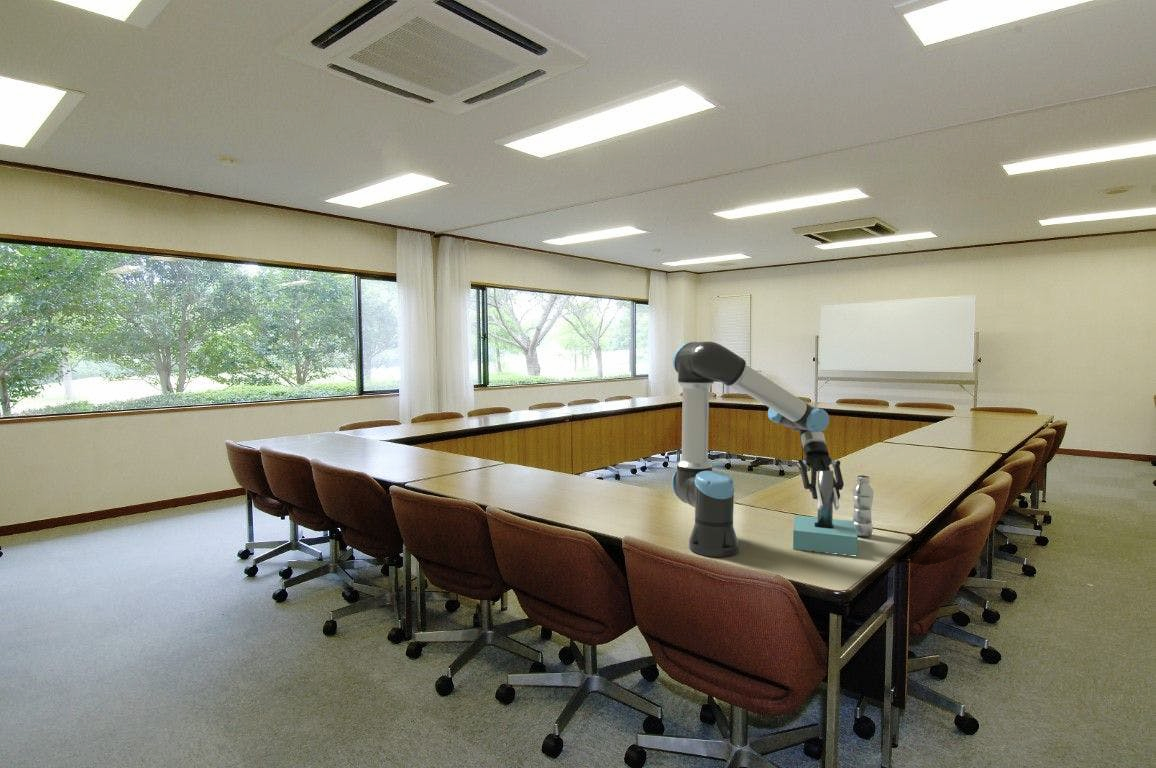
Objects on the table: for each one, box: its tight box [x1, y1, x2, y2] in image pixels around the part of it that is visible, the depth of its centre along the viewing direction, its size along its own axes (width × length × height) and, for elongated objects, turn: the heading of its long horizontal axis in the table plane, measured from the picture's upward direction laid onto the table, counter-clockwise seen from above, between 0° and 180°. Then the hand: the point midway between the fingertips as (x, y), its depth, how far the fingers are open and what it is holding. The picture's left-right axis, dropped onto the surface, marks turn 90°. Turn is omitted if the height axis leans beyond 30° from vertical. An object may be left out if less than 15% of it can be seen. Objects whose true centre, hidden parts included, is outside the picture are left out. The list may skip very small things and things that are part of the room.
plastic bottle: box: [852, 474, 875, 537], centre depth 191 cm, size 6×7×20 cm
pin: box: [817, 469, 834, 529], centre depth 183 cm, size 4×4×18 cm
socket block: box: [792, 514, 858, 557], centre depth 183 cm, size 18×18×6 cm
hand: (828, 507), depth 179 cm, fingers closed on pin, 4 cm apart
